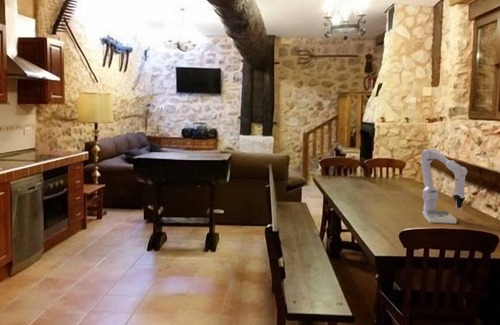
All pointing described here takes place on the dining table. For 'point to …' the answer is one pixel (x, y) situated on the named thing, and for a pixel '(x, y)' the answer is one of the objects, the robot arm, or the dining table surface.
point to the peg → (457, 208)
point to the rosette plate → (439, 217)
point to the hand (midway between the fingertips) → (458, 207)
